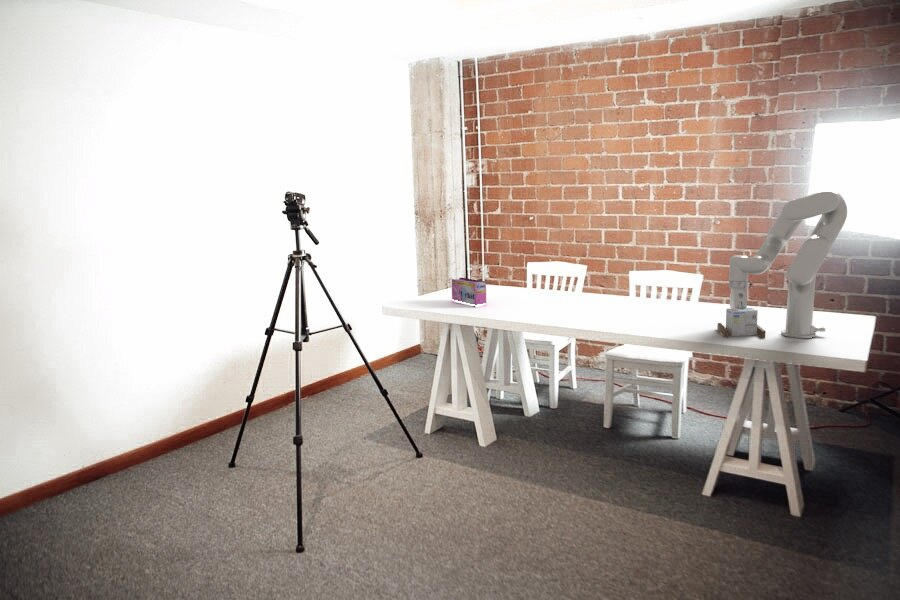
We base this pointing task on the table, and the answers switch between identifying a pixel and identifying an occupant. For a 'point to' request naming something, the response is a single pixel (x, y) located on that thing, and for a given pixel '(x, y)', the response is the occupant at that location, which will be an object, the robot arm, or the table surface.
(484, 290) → the gum box
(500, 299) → the table surface
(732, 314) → the light bulb box
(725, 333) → the walnut chute
